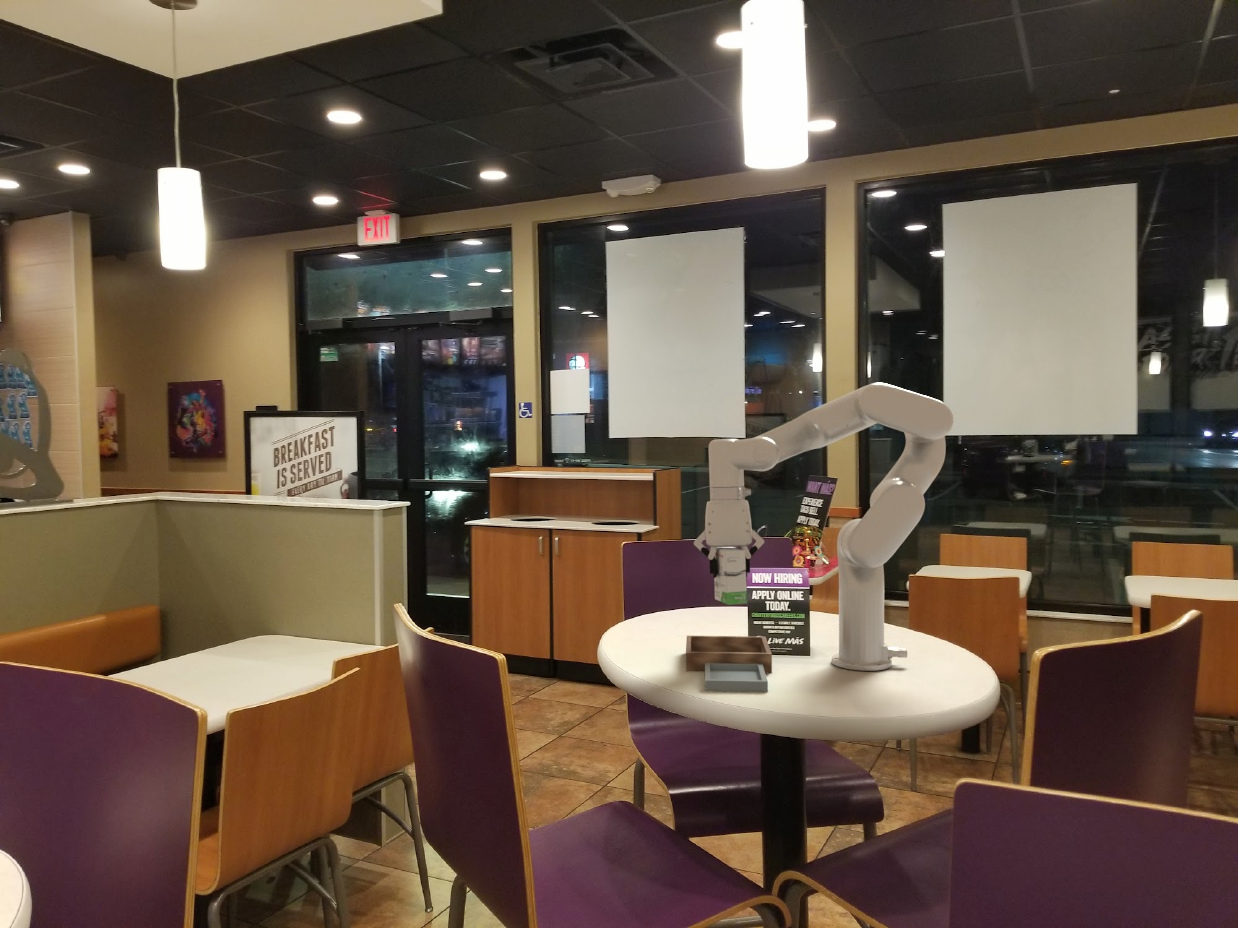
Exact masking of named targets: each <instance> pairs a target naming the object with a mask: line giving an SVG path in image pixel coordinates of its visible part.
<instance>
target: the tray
mask: <svg viewBox="0 0 1238 928" xmlns="http://www.w3.org/2000/svg"><path fill="white" fill-rule="evenodd" d="M766 674H767V673H765V671H764V668H763V664H740V663H705V672H704V682H705V683H704V685H705V689H704V690H705V691H707V692H753V693H755V692H757V693H758V692H759V693H760V692H761V693H762V692H763V693H767V692H768V691H769V689H768V687H769V685H768V684H769V681H768V679H767V675H766Z"/></svg>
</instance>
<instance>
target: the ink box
mask: <svg viewBox="0 0 1238 928" xmlns="http://www.w3.org/2000/svg"><path fill="white" fill-rule="evenodd" d="M714 556H715V559H716V574H717V577H716V578H713V579H714V582H713V583H714V600H716V601H718V602H721V603H722V604H725V605H727V606H728V605H729V606H730V605H743V604H748V592H747V590H748V589H747V577H746V562H745V550H742V548H738V547H717V550H716V552H715V555H714Z"/></svg>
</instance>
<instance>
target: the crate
mask: <svg viewBox="0 0 1238 928" xmlns="http://www.w3.org/2000/svg"><path fill="white" fill-rule="evenodd" d="M685 644H686V645H685V672H695V673H697V672H698V673H699V672H701V673H705V663H740V664H763V668H764V671H765V674H772V671H773V657H772V656H773V654H772V651H771V649H770V646H769V643H768V640H767V638H766V636H756V635H753V636H752V635H751V636H750V635H749V636H747V635H741V636H740V635H739V636H738V635H686V643H685Z"/></svg>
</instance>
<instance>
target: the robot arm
mask: <svg viewBox="0 0 1238 928" xmlns="http://www.w3.org/2000/svg"><path fill="white" fill-rule="evenodd" d="M876 424H879V425H882V426H885V427H888V428H889V429H890V428H891V429H893V430H897V431H899V432H903V433H904V436H905V446H904V449H903V452H902V453H901V455H900V456H899V458H898V460H897V461H896V462H895V464H894V465H893V466H892V468H891V469H890V470H889V472H888V473H887V474H886V475H885V477H883V479H882V480H881V482H879V484H878V485H877V486H876V487H875V488H874V489H873V491H872V493H871V496H870V498H869V504H870V505H869V506H870V508H869V509H868V510H867V511H866V513H865V514H864V516H863V517H862V518H855V519H851V520H850V521H848V522H846V523H845V524H844V525H843V526H842V527H841V528H840V530H839V532H838V536H837V539H836V552H837V564H838V565H837V567H838V653H835V654H834V655H833V656H831V663H832V664H833V665H834V666H836V667H839V668H842V669H846V670H852V671H864V672H866V671H867V672H873V671H882V670H887V669H890V668H892V665H893V664H892V659H893V658H905V659H907V658H908V649H907V648H899V647H897V646H895V647H894V646H888V645H887V643H885V572H884V564H886V563H887V562H888V561H889V560H890V558H892V557H893V556H894V554H895V553H896V552H897V550H898V549H899V548H900V546H901V545H902V544H903V543H904V542H905V540H906V539H907V538H908V536H909V535H911V532H913V530H914V529H915V527H917V525H918V523H919V522H920V521H921V519H922V517H923V515H924V512H925V509H926V502H925V497H924V494H925V493H926V492H927V490H928V489H929V488H930V487H931V485H932V483H933V482H934V480H935V479H936V477H937V476H938V474H939V473H940V471H941V469H942V467H943V466H944V462H945V458H946V451H947V450H946V447H947V445H946V444H947V443H946V435H947V434H948V433H950V431H951V430H952V427H953V424H954V414H953V412H952V410H951V408H950V407H949V406H948V405H947V404H946V403H944V402H943V401H942V400H939V399H936V398H933V397H930V396H927V395H923V394H920V393H917V392H914V391H911V390H907V389H904V388H902V387H898V386H895V385H892V384H888V383H886V382H885V383H884V382H877V381H876V382H872V383H870V384H867V385H864V386H862V387H860V388H857V389H854V390H853V391H851V392H848V393H847V394H843V395H842V396H841V395H840V396H839V397H837V398H835V399H833V400H830V401H828V402H826V403H823V404H822V405H819V406H816V407H815V408H812V409H810V410H808V411H806V412H804V413H802V414H801V415H799V416H798V417H796V418H795V419H792V420H791V421H788V422H787V423H784V424H782V425H780V426H777V427H775V428H773V429H771V430H768V431H766V432H764V433H762V434H759V435H758V436H755V437H751V438H744V439H738V438H721V439H720V438H718V439H713V440H711V441H710V442H709V443H708V471H709V472H708V474H709V500H710V501H707V502H706V506H705V518H704V519H705V520H704V521H705V523H704V530H703V532H702V533H701V534H700V535H698V537H696V539H695V540H694V541H693V545H694V547H696V548H697V549H698V550H699V551H700V552H701V553H702V554H703V555H704V556H705V557H707V558H708V560H709V574H712V578H713V579H714V578H716V577H717V574H716V559H715V556H714V555H715V552H716V550H717V547H735V548H737V547H741V548H740V549H742V550H745V562H746V578H748V574H750V573H751V560H750V559H751V558H752V557H753V555H754V554H755V553H757V551H758V550H759V549H760V548H761V547H762V546H763V545H764V544H765V540H764V539H763V538H762V537H761V536H760V535H759V533H757V532H756V531H755V530H754V528H753V529H752V518H751V510H750V509H751V508H750V504H749V501H748V500H746V499H745V498H746V497H747V496H751V495H752V490H751V488H746V487H745V477H744V476H745V475H744V473H745V472H744V471H755V472H756V471H757V472H766V471H769V470H771V469H773V468H774V467H775V466H776V465H777V464H779V463H781V462H783V461H785V460H788V459H791V458H792V457H794V456H798V455H800V454H802V453H804V452H805V453H806V452H809V451H811V450H815V449H821V448H824V447H826V446H829V445H831V444H833V443H834V444H835V443H836V442H838V441H840V440H843V439H845V438H847V437H850V436H851V435H854V434H856V433H858V432H860V431H864V430H865V429H867V428H870V427H872V426H874V425H876ZM753 540H755V541H756V542H755V543H754V544H753V545H752V546H751V547H750V548H748V546H749V545H751V544H752V542H753ZM704 541H705V543H706V545H707V546H709V549H708V548H707V547H705V545H704V544H703V542H704Z"/></svg>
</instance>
